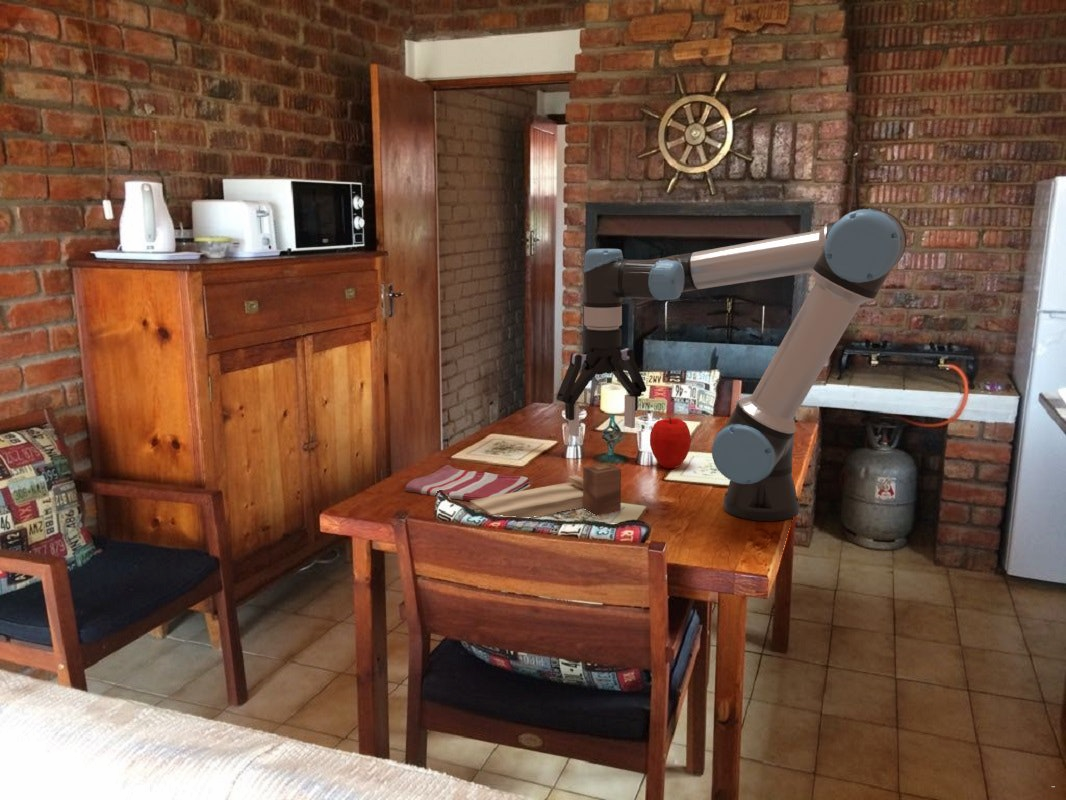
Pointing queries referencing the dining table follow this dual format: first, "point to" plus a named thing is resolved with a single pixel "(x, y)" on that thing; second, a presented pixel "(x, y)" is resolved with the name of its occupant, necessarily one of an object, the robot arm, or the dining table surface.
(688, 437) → the apple
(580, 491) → the board
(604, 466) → the brown wooden block
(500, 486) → the dish towel
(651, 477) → the dining table surface
